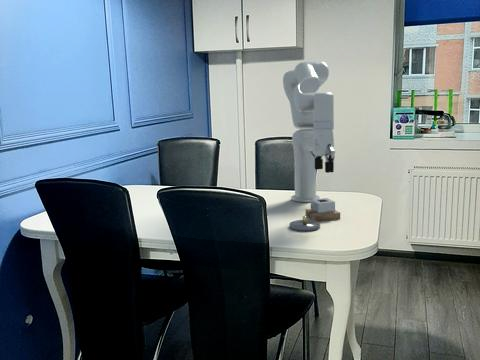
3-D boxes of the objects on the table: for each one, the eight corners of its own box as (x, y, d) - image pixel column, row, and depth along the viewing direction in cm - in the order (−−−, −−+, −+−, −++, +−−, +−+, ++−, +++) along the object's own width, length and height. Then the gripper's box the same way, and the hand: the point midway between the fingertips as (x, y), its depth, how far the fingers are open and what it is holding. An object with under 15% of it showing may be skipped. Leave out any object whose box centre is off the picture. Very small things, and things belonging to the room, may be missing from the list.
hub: (285, 224, 179) (284, 214, 178) (312, 221, 182) (312, 211, 181) (296, 233, 168) (296, 221, 168) (325, 229, 171) (325, 218, 171)
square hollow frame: (310, 209, 190) (310, 199, 189) (326, 207, 191) (326, 198, 191) (318, 213, 183) (318, 203, 182) (335, 211, 185) (335, 201, 184)
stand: (305, 215, 191) (305, 205, 190) (328, 212, 194) (328, 203, 193) (316, 221, 182) (316, 211, 181) (340, 218, 184) (340, 208, 184)
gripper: (305, 125, 189) (306, 168, 191) (323, 127, 172) (324, 174, 175) (323, 124, 191) (323, 167, 193) (343, 126, 174) (343, 172, 177)
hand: (323, 170), depth 184 cm, fingers open, 9 cm apart
